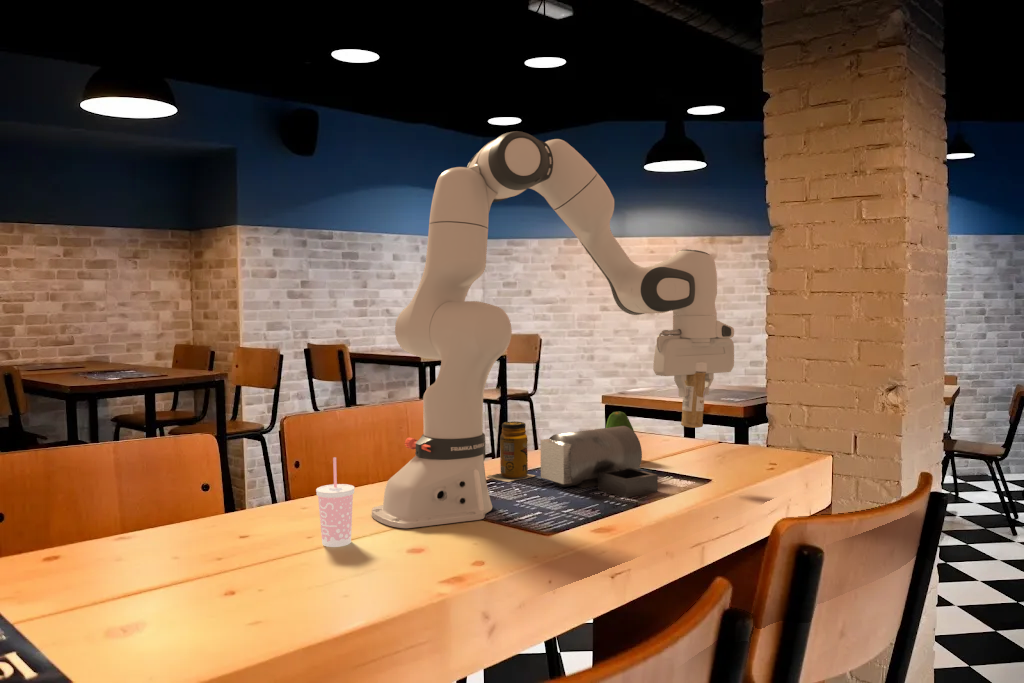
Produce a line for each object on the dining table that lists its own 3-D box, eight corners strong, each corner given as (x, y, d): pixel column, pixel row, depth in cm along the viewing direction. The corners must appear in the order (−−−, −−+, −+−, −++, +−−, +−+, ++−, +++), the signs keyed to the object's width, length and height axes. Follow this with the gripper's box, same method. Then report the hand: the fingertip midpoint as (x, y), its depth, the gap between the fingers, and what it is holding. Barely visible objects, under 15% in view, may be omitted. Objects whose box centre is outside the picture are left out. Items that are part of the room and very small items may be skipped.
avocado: (598, 458, 200) (598, 409, 199) (628, 456, 202) (628, 408, 202) (611, 465, 192) (611, 414, 192) (642, 462, 194) (642, 412, 194)
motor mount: (599, 502, 157) (598, 446, 157) (536, 483, 174) (536, 431, 174) (684, 486, 170) (684, 433, 169) (618, 469, 187) (618, 421, 187)
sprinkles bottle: (705, 428, 167) (710, 363, 167) (683, 427, 167) (688, 361, 166) (699, 425, 172) (703, 361, 171) (677, 424, 171) (682, 360, 171)
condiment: (536, 476, 181) (535, 422, 181) (508, 482, 175) (507, 427, 175) (513, 471, 187) (512, 419, 186) (485, 477, 181) (484, 423, 180)
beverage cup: (310, 542, 134) (308, 457, 133) (344, 534, 138) (342, 452, 137) (328, 550, 129) (326, 463, 128) (362, 543, 133) (360, 457, 132)
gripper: (668, 330, 160) (668, 400, 161) (739, 328, 171) (738, 394, 172) (646, 329, 165) (646, 397, 166) (716, 328, 177) (716, 391, 177)
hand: (693, 396), depth 169 cm, fingers closed on sprinkles bottle, 4 cm apart
